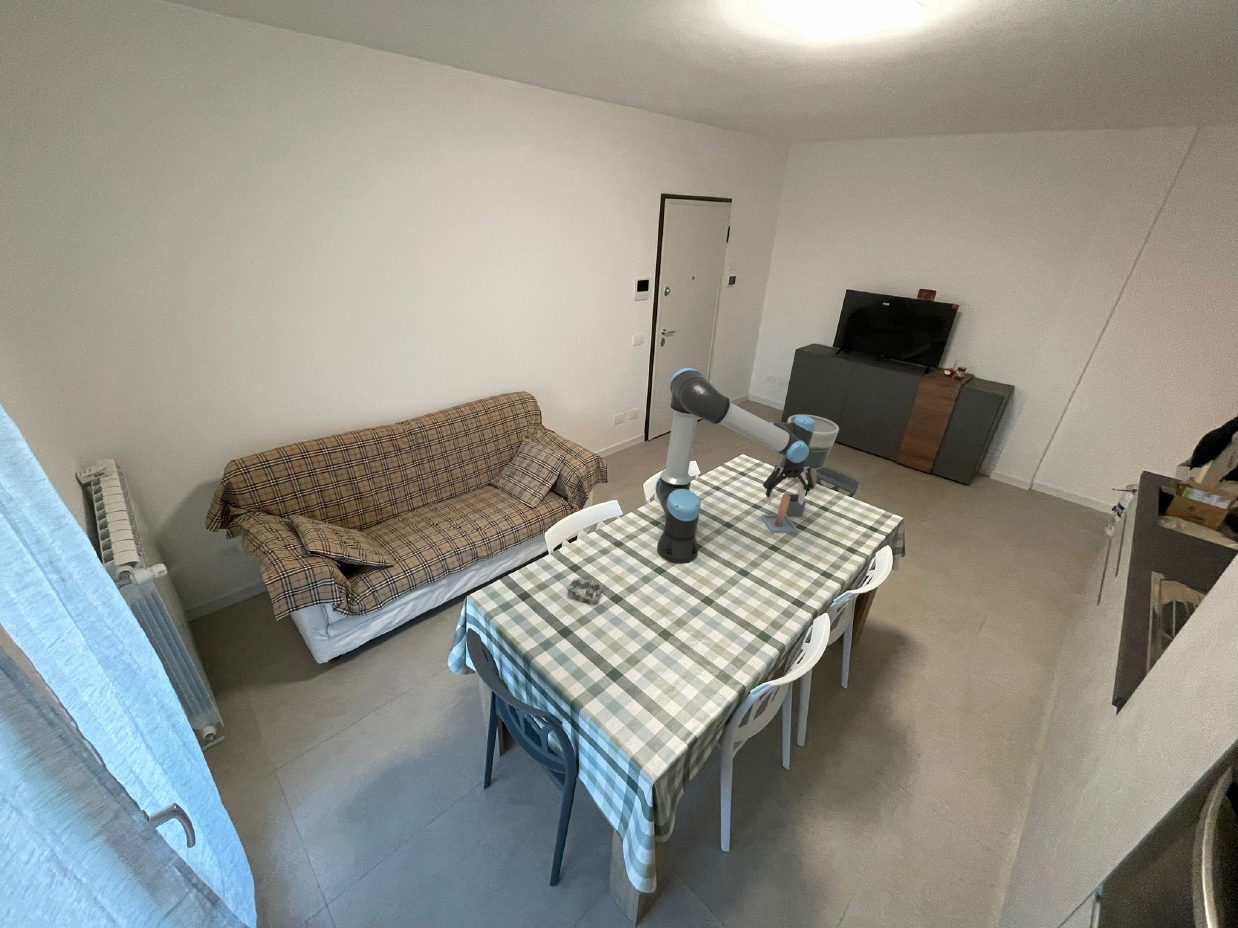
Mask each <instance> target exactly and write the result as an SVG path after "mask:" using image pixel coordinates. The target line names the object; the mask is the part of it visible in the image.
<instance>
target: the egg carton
mask: <svg viewBox="0 0 1238 928" xmlns="http://www.w3.org/2000/svg"><path fill="white" fill-rule="evenodd" d="M603 585H604V584H603V583H599V582H594V581H592V580H588V579H584V578H582V577H575V578H573V579H572V580H571V583H570V584H569V586H568V587H567V588H566V590H567V596H568V597H569V599H571V600H574V599H579V602H585V601H588V602H589V604H590V605H594V604H595V603H597V604H598V603H599V597H600V596H601V595H602V589H603ZM577 586H578V587H579V589H581V590H578V591H577V590H576V591H575V590H574V588H575V587H577ZM582 590H585V595H584V593H583V591H582ZM594 592H595V597H594ZM583 595H584V596H583Z"/></svg>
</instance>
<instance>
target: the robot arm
mask: <svg viewBox="0 0 1238 928" xmlns="http://www.w3.org/2000/svg"><path fill="white" fill-rule="evenodd" d="M669 390H670V392H671V400H670V409H671V411H672V412H673V415H672V416H673V417H672V423H671V429H670V435H669V442H668V443H669V444H668V448H667V456H666V462H665V463H666V464H665V470H663V471H661V472H660V477H659V478H657V481H656V482H655V495H656V497H657V499H658V501H659V504H660V506H661V508H662V511H663V513H664V515H665V519H664V526H663V527H664V529H663V531H662V534H661V536H660V537H659V539H658V541H657V547H656V551H657V553H658V555H659V556H660V557H661V558H663V559H664V560H666V561H668V562H670V563H674V564H687V563H690V562H691V563H692V562H693V561H695V560H696V558H697V557H698V554H699V545H698V540H697V536H696V535H697V530H698V525H699V518H700V513H701V499H700V497H699V496H698V495H697V494H696V493H695V492H692V491H691V490H690V489H691V484H692V477H691V475H690V474H689V470H690V464H691V458H692V453H693V446H694V441H695V435H696V429H697V425H698V419H699V418H700V419H702V420H704V421H706V422H709V423H711V424H713V425H722V426H724V427H726V428H728V429H730V430H733V431H734V432H735V433H738V434H739V435H742V436H744V437H746V438H749V439H750V440H752V441H754V442H757V443H758V444H760V445H763V446H765V447H767V448H768V449H771V450H773V451H775V452H777V453H779V454H781V455H783V457H784V456H785V459H784V460H783V465H782V466H783V467H782V466H779V465H777V464H775V466H774V468H773V470H772V472H771V473H770V475H769V476H768V477H767V479H766V480H765V481H764V482H763V483H762V486H763V488H764V489H765V490H766V491H765V496H766V499H765V502H766V503H767V505H768V506H771V503H772V500H773V494H774V489H775V488H776V487H777V486H778V485H779V484H780V483H782V482H783V481H784V480H786V479H787V478H788V479H796V478H798V480H799V481H800V482H801V483H802V485H803V486H804V487H801V491H800V495H799V498H798V502H799V503H800V504H801V505H803V501H805V497H807V496H808V492H810V491H811V490H813V489H814V488H815V486H814V485H813V481H812V477H811V468H810V467H809V466H808V465H807V466H805V467H804V465H805V461H806V458H807V456H808V454H809V446H810V442H811V439H812V435H813V432H814V427H815V421H814V420H813V419H812V418H810V417H808V416H796V417H795V419H794V421H793V422H790V423H787V422H783V421H782V422H777V421H776V422H774V421H772V422H771V421H770V422H768V421H766V420H764V419H763V418H760V417H759V416H757V415H755V414H753V413H751V412H750V411H748V410H746V409H743V408H742V407H739V406H738V405H735V404H734V403H732V402H731V401H732V400H731V399H730V398H729V397H727V396H725V395H724V394H722V393H721V392H720V391H719V390H717V389H716V388H715V387H714V386H713V385H712V384H711V383H710V382H709V381H708V380H707V379H706V377H704V375H703V374H702V373H701V372H700V371H699V370H696V369H694V368H692V367H685V368H681V369H679V370H678V371H677V372H675V373H674V374H673V375H672V377H671V379H670V381H669ZM781 471H782V472H781ZM803 471H804V472H805V474H806V481H807V482H806V481H804V479H803V478H802V476H801V473H802V472H803ZM780 472H781V473H780ZM779 473H780V474H779ZM778 474H779V476H778Z"/></svg>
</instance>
